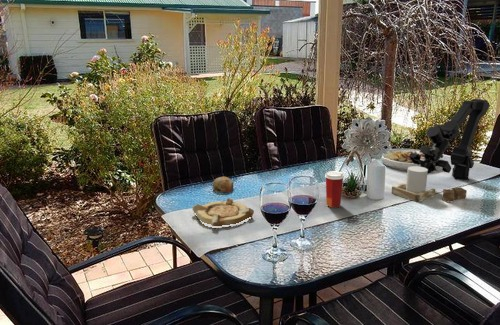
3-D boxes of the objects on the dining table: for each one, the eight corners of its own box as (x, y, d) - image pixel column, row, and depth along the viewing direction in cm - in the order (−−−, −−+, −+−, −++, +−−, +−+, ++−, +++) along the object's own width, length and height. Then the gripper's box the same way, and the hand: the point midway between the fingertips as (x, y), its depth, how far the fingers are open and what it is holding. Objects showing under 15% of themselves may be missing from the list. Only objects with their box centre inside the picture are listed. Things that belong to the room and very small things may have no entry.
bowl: (397, 174, 216) (398, 160, 214) (370, 159, 244) (370, 146, 242) (450, 170, 222) (451, 155, 219) (417, 155, 250) (418, 142, 248)
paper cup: (344, 203, 180) (346, 171, 176) (340, 209, 173) (341, 177, 169) (326, 200, 183) (327, 169, 179) (321, 207, 176) (322, 175, 172)
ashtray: (194, 232, 156) (193, 220, 155) (192, 208, 179) (191, 197, 178) (257, 227, 160) (257, 215, 158) (248, 204, 182) (247, 193, 181)
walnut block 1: (452, 198, 182) (453, 190, 181) (453, 202, 179) (454, 193, 178) (442, 197, 184) (443, 189, 183) (442, 201, 180) (443, 192, 179)
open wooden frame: (408, 187, 197) (409, 181, 196) (434, 195, 186) (435, 189, 185) (391, 193, 190) (391, 186, 189) (417, 201, 180) (418, 195, 179)
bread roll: (211, 197, 200) (207, 185, 195) (219, 182, 207) (215, 170, 202) (230, 199, 197) (226, 187, 192) (238, 184, 204) (234, 172, 199)
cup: (416, 190, 192) (418, 165, 189) (429, 196, 185) (431, 170, 182) (401, 193, 190) (403, 167, 187) (413, 199, 183) (416, 172, 179)
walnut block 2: (459, 196, 185) (460, 187, 184) (465, 199, 182) (466, 190, 181) (451, 196, 185) (452, 188, 184) (457, 200, 181) (458, 191, 180)
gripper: (413, 135, 194) (395, 162, 192) (451, 143, 179) (432, 172, 177) (422, 149, 201) (404, 175, 198) (459, 158, 186) (441, 186, 183)
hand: (419, 177), depth 189 cm, fingers closed
